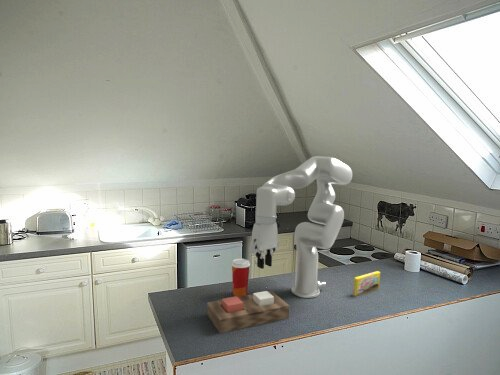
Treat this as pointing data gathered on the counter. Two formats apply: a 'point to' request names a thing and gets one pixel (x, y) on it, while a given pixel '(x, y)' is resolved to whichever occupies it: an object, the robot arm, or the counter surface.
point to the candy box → (366, 283)
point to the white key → (263, 298)
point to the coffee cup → (240, 276)
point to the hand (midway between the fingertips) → (264, 266)
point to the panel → (246, 313)
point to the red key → (232, 304)
